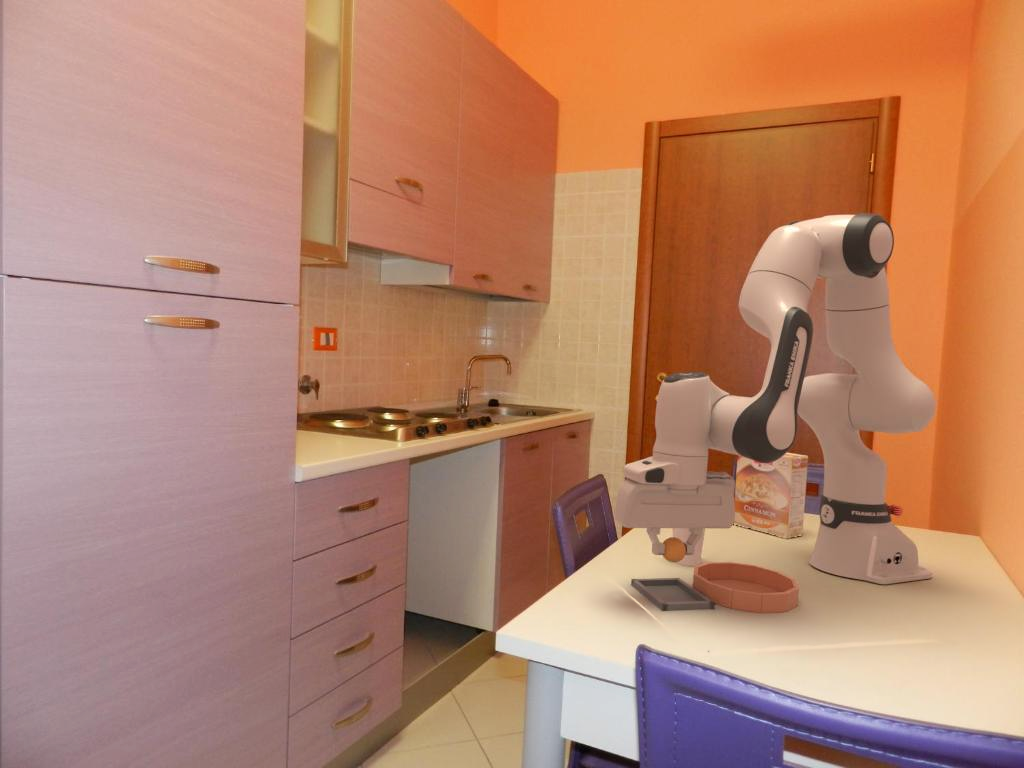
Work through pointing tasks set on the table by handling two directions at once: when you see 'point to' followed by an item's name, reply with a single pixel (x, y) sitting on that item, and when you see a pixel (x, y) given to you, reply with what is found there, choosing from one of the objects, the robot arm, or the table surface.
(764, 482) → the coffeecake box
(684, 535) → the drinking glass
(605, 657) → the table surface
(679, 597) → the tray
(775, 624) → the table surface
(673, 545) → the ball
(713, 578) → the bowl
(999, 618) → the table surface
